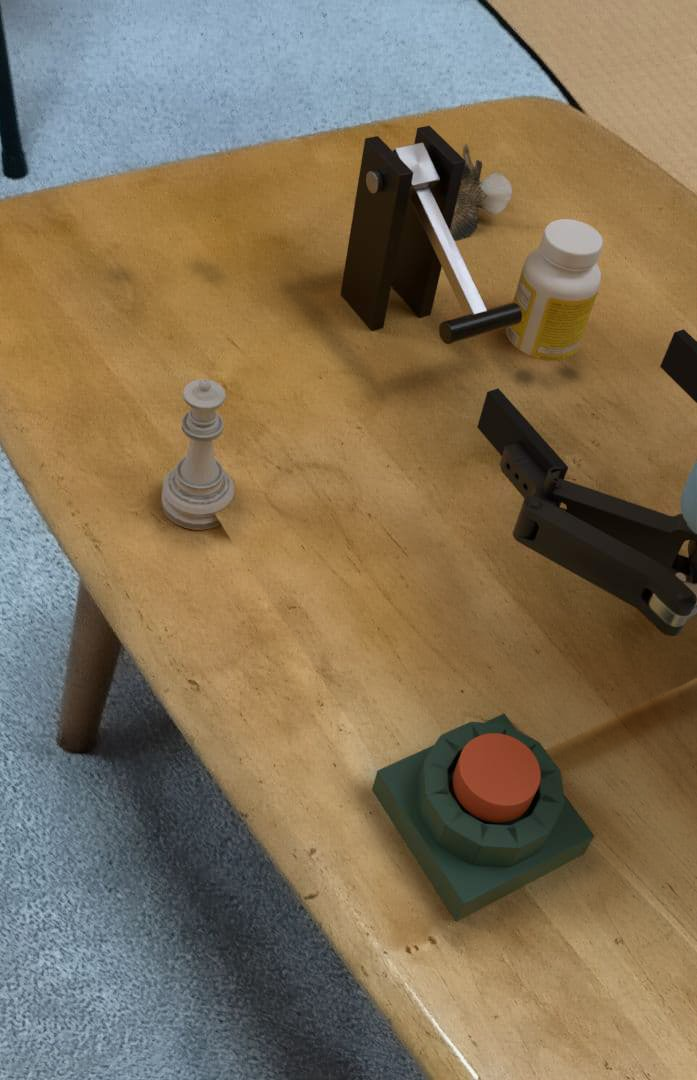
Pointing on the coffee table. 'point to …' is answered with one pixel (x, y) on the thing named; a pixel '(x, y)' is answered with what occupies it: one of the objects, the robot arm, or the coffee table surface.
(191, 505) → the chess piece
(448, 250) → the press lever
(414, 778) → the button base
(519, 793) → the button
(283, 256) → the coffee table surface
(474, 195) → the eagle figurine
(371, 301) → the press bracket
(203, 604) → the coffee table surface
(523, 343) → the supplement bottle
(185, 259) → the coffee table surface
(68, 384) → the coffee table surface
